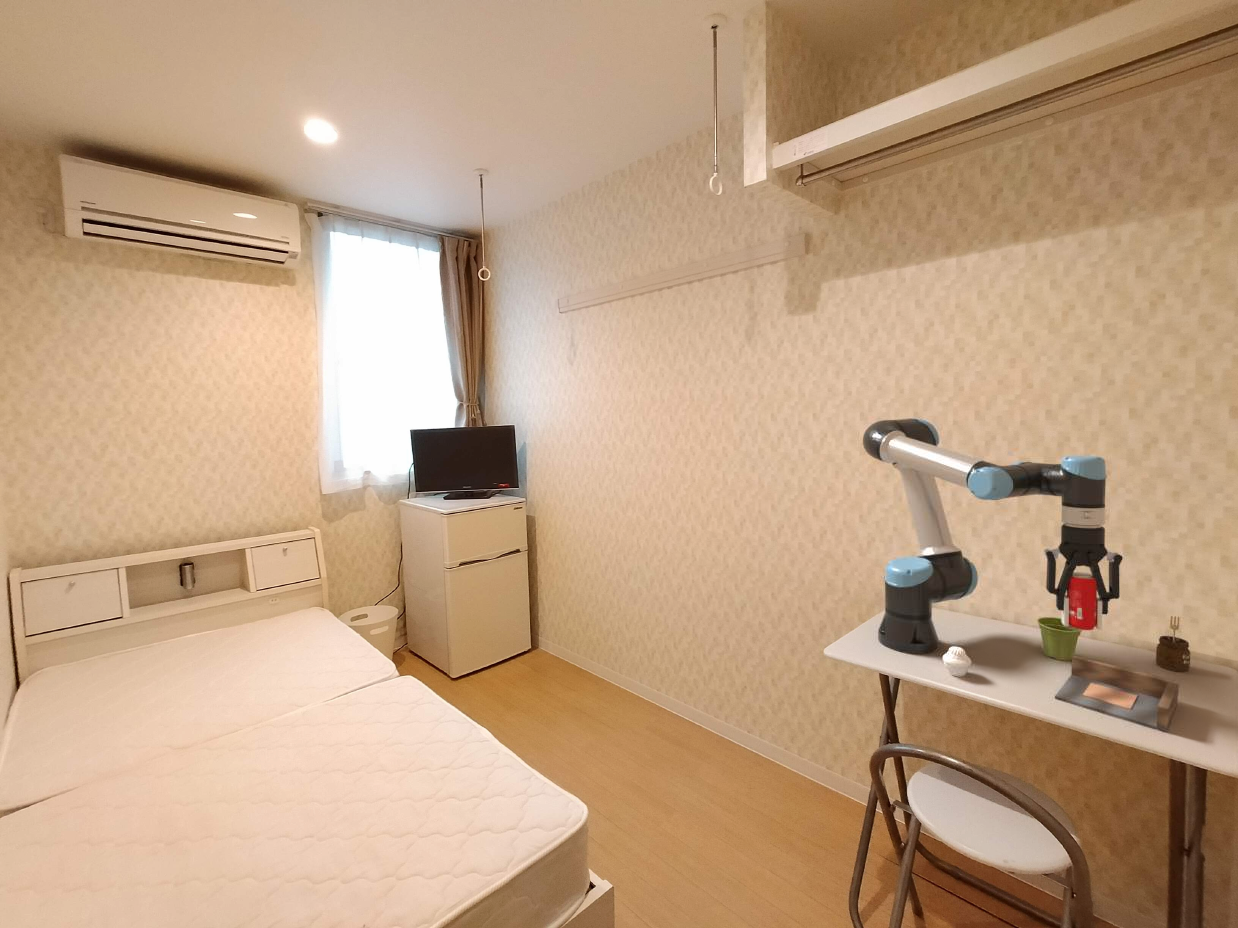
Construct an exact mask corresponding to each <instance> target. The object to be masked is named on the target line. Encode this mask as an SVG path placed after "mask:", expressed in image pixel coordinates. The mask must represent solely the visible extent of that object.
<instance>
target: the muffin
mask: <svg viewBox="0 0 1238 928" xmlns="http://www.w3.org/2000/svg"><path fill="white" fill-rule="evenodd" d="M942 660H943V665H944V666H945V668H946V670H947V671H948V674H949V675H951V676H954V677H959V678H960V677H964V676H965V675H966V674H967V672H968V671H969V670H970V667H971V665H972V660H971V658H970V657H969V656H968V655H967V654H966V651H965V649H964V648H962V647H959V646H951V647H949V648H948V651H947V652H945V654H943V656H942Z"/></svg>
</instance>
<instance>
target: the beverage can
mask: <svg viewBox="0 0 1238 928" xmlns="http://www.w3.org/2000/svg"><path fill="white" fill-rule="evenodd" d="M1066 596H1067V597H1068V598H1069V626H1070V627H1072V628H1075V629H1079V630H1083V631H1093V630H1094V629H1095V628H1096V627H1095V625H1096V607H1097V598H1098V592H1097V582H1096V579H1095V577H1094V576H1093V575H1092V573H1087V572H1077V571H1076V572H1075V571H1074V572H1073V575H1072V577H1071V579H1070V583H1069V585H1068V588H1067V591H1066Z"/></svg>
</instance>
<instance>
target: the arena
mask: <svg viewBox="0 0 1238 928" xmlns="http://www.w3.org/2000/svg"><path fill="white" fill-rule="evenodd" d="M1179 685H1180V681H1178V680H1177V681H1176V680H1174V679H1169V678H1164V677H1161V676H1157V675H1155V674H1154V675H1153V674H1148V673H1145V672H1141V671H1139V670H1138V671H1137V670H1133V669H1129V668H1126V667H1123V666H1122V667H1121V666H1118V665H1114V664H1110V663H1105V662H1101V661H1099V660H1093V659H1090V658H1087V657H1081V656H1079V655H1075V654H1074V656H1073V657H1072V659H1071V674H1070V676H1069V677H1068V679H1066V681H1065V683H1064V684H1063V685H1062V686H1061V687H1060V689H1059V690H1058V692H1057V693H1056V694H1055V696H1054V699H1056V700H1059V701H1061V702H1064V703H1069V704H1071V705H1075V706H1078V707H1081V708H1084V709H1085V708H1086V709H1088V710H1091V711H1095V712H1098V713H1100V714H1101V713H1102V714H1105V715H1108V716H1111V717H1114V718H1117V719H1121V720H1122V721H1123V720H1124V721H1127V722H1131V723H1133V724H1137V725H1140V726H1144V727H1146V726H1147V727H1146V728H1149V729H1153V730H1156V729H1158V730H1157V731H1159V730H1160V731H1159V732H1163V733H1166V734H1167V733H1168V730H1169V727H1170V725H1171V722H1172V719H1173V716H1174V714H1175V712H1176V709H1177V707H1178V701H1179V700H1178V699H1179Z"/></svg>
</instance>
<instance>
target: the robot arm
mask: <svg viewBox="0 0 1238 928" xmlns="http://www.w3.org/2000/svg"><path fill="white" fill-rule="evenodd" d="M939 436H940V435H939V433H938V430H937V429H936V427H935V426H934V425H933V424H932V423H931V422H929V421H927V420H925V419H921V418H913V417H911V418H902V419H884V420H879V421H875V422H874V423H872V424H871V425H869V426H868V427H867V428H866V430H865V431H864V433H863V437H862V445H863V448H864V450H865V453H867V454H868V455H869V456H870V457H872V458H873V459H875V460H878V461H880V462H883V463H886V464H891V465H892V467H893V468H894V469H896V470H898V471H899V473H900V477H901V480H902V481H901V482H902V484H903V488H904V491H905V497H906V500H907V503H908V508H909V511H910V516H911V519H912V524H913V526H914V530H915V533H916V537H917V538H916V539H917V541H918V545H919V548H920V550H919V551H918V552H917V553H916V556H909V557H907V556H901V557H898V558H894V559H892V560H890V561H889V562H888V563H887V564H886V566H885V574H884V598H885V599H884V615H883V617H882V619H881V623H880V625H879V628H878V630H877V640H878V639H879V640H878V642H879V643H881V644H882V645H883V646H884V647H887V648H889V649H892V650H895V651H899V652H902V653H909V654H929V653H934V652H935V651H937V650H938V649H939V641H940V640H939V636H938V633H937V631H936V628H935V624H934V621H933V617H932V614H933V613H932V612H933V611H932V610H933V604H937V603H942V602H947V601H954V600H957V601H958V600H959V599H962V598H965V597H968V596H969V595H971V594H972V593H973V592H974V591H975V589H976V588H977V585H978V582H979V581H978V580H979V575H978V574H979V573H978V570H977V568H976V566H975V565H974V563H973V562H972V561H970V560H969V558H967V557H965V556H963V552H962V549H961V548H959V547H957V546H956V545H955V544H954V542H953V538H952V535H951V530H950V528H949V523H948V520H947V517H946V514H945V509H944V506H943V502H942V499H941V495H940V491H939V487H938V484H937V481H936V478H938V479H941V480H944V481H946V482H950V484H951V483H952V484H953V485H957V486H960V487H962V488H966V489H968V490H969V492H970V493H972V495H973V496H974V497H976V498H977V499H980V500H984V501H999V500H1002V499H1009V498H1018V497H1019V498H1020V497H1026V496H1033V495H1034V496H1035V495H1038V496H1039V495H1041V496H1053V497H1060V498H1061V520H1060V521H1061V522H1062V523H1063V524H1062V525H1061V527H1060V544H1059V546H1058V547H1057V548H1053V549H1049V548H1048V549H1047V548H1046V549H1045V550H1044V555H1045V556H1046V561H1047V562H1046V584H1045V585H1046V586H1045V587H1046V591H1047V592H1048V593H1049V594H1051V595H1055V602H1056V603H1055V607H1056V609H1057V610H1058V611H1061V619H1062V623H1063V625H1064V626H1069V598H1068V597H1067V588H1068V585H1069V583H1070V579H1071V577H1072V575H1073V572H1075V571H1076V568H1077V567H1087V568H1089V570H1090V574H1092V575H1093V576H1094V577H1095V579H1096V582H1097V596H1098V597H1097V607H1096V625H1095V627H1094V628H1096V630H1101V631H1102V629H1103V615H1107V614H1108V613H1109V602H1110V601H1111V600H1118V599H1120V595H1121V593H1120V565H1121V563H1122V561H1123V559H1124V557H1123V555H1121V554H1119V552H1111V551H1109V550H1108V549H1107V547H1106V543H1105V542H1106V541H1105V540H1106V528H1104V525H1105V524H1106V485H1107V483H1106V480H1107V477H1108V476H1107V472H1106V470H1107V469H1106V468H1107V467H1106V461H1105V459H1104V458H1103V457H1101V456H1097V455H1096V456H1095V455H1068V456H1067V455H1066V456H1064V457H1063V458H1062V459H1061V463H1044V462H1043V463H1042V462H1031V461H1026V462H1025V461H1023V462H1022V461H1021V462H1019V461H1018V462H1017V461H1016V462H1013V463H1010V465H998V464H996V463H992V462H988V461H985V460H982V459H979V458H976V457H972V456H969V455H967V454H963V453H959V452H957V451H953V450H950V449H947V448H943V447H940V446H938V445H939V444H940V437H939ZM1060 554H1061V555H1062V557H1063V558H1064V559H1065V560H1066V561H1065V562H1064V568H1063V570H1062V574H1061V576H1060V579H1059V581H1058V584H1057V586H1056V575H1057V574H1056V572H1057V559H1058V558H1059V555H1060ZM1105 557H1106V560H1107V561H1108V591H1107V588H1106V585H1105V582H1104V579H1103V576H1102V573H1101V568H1100V566H1099V565H1100V564H1099V563H1100V562H1102V560H1103V559H1104V558H1105Z"/></svg>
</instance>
